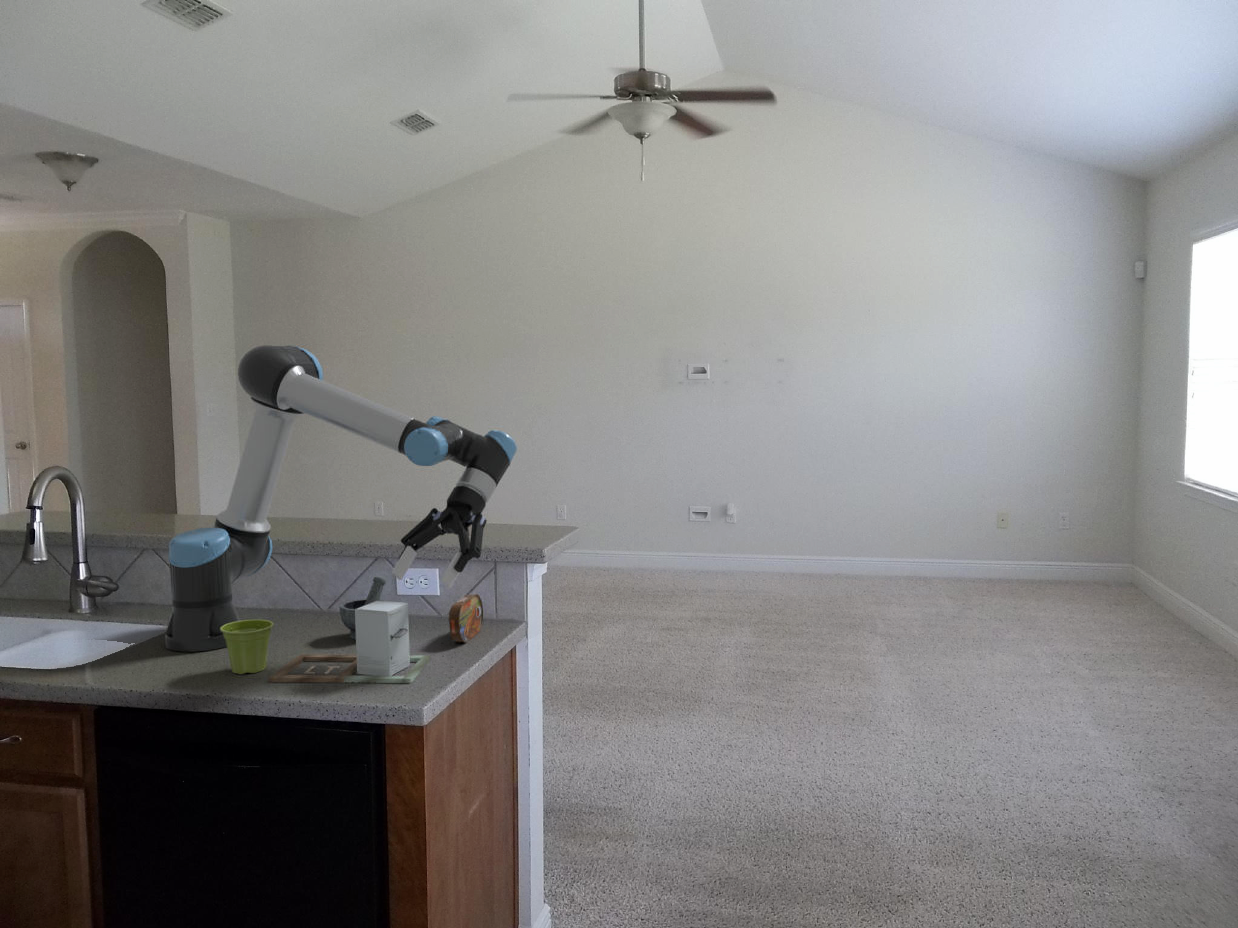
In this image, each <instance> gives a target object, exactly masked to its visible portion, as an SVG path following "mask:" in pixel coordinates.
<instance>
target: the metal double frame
mask: <svg viewBox="0 0 1238 928" xmlns="http://www.w3.org/2000/svg"><path fill="white" fill-rule="evenodd" d="M431 657H432V656H431V655H419V654H418V655H414V654H413V655H411V654H410V663H412V662H414V663H415V662H416V663H415V664H414V665H413V666H412V667H411V669H410V670H409V671H408V672H407V673H406V674H405V675H392V676H371V675H353V674H354V673H356V672H357V654H298V655H297V656H295V657H293V659H292V660H290V661H289V662H288V663H286V664H285V665H283V666H282V667H281V668H280V669H278V670H277V671H275V673H273V674H272V675H270V676H269V677H268V682H269V683H345V682H347V683H348V682H349V683H351V682H354V683H355V684H356V683H357V684H360V683H361V682H362V683H363V682H364V683H363V684H367V682H370V683H371V684H381V683H382V684H411V683H412V682H413V681H414V680H415V679H416V678H417V676H418V675H419V674H420V673H421V672H422V670H424V668H425V667H426V666H427V665H428V663H429V662H430V661H431V660H432V658H431ZM303 662H352V663H351V664H349V665H348V666H347V667H346V668H344V670H343V671H342V672H341V673H339V674H337V675H331V674H330V675H329V673H330V672H331V671H332V670H334V669H336V668H337V669H338V668H340V667H341V666H340V665H339V666H338V665H331V666H330V665H327V667H326V668H328V669H327V670H326V671H324V673H323V674H324V675H319V674H316V671H315V672H314V671H313V672H312V670H313V669H314V668H316V665H311V666H310V667H309V668H308V669H307V670H305V671H304V672H303V674H290V672H292V671H294V669H296V668H297V667H298V666H299V665H301V664H302V663H303ZM426 664H427V665H426ZM425 665H426V666H425ZM420 671H421V672H420ZM305 674H307V675H305ZM313 674H314V675H313ZM359 682H360V683H359ZM375 682H376V683H375ZM362 683H361V684H362ZM370 683H369V684H370Z"/></svg>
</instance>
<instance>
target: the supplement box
mask: <svg viewBox="0 0 1238 928" xmlns="http://www.w3.org/2000/svg"><path fill="white" fill-rule="evenodd" d="M409 625H410V623H409V603H408V602H403V601H389V600H383V601H375V602H372V603H370V604H368V605H365V606H362V607H360V608H357V609H355V628H356V639H355V649H356V651H355V652H356V654H355V655H357V670H356V674H357V675H362V676H394V675H395V674H397V673H398V672H401V671H403V670H405V669H406V668H409V667H410V666H411V664H410V663H411V662H410V655H411V654H410V635H409V634H410V630H409V629H410V627H409Z"/></svg>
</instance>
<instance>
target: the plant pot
mask: <svg viewBox="0 0 1238 928" xmlns="http://www.w3.org/2000/svg"><path fill="white" fill-rule="evenodd" d="M273 627H274V622H273V621H272V620H271V621H270V620H267V619H245V620H240V621H236V622H231V623H228V624H225V625H223V626H222V627H221V628H220V630H221V632H223V635H224V638H225V639H226V644H227V646H226V648H227V653H228V658H229V663H230V669H231V672H232V673H233V674H237V673H238V674H239V675H244V674H246V673H250V674H256V673H258V672H262V671H264V670H266V667H267V659H268V648H269V640H270V635H271V634H272V633H271V632H272V628H273ZM238 674H237V675H238Z"/></svg>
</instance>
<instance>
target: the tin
mask: <svg viewBox="0 0 1238 928" xmlns="http://www.w3.org/2000/svg"><path fill="white" fill-rule="evenodd" d="M483 623H484V607H483V601H482V599H481V597H480V595H479V594H477V593H475V594H467V595H464V596H463V597H461V598H460V599H459V600H458V601H456V602H454V603H453V604H452V606H450V609H449V613H448V625H449V634H450V638H451V640H452V641H453V642H454V643H466V644H467V643H468V642H470V641H471V640H472V639H473V638H474V637H475V636H476V635H478V634H479V633H480V632H481V630H482V627H483Z"/></svg>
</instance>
